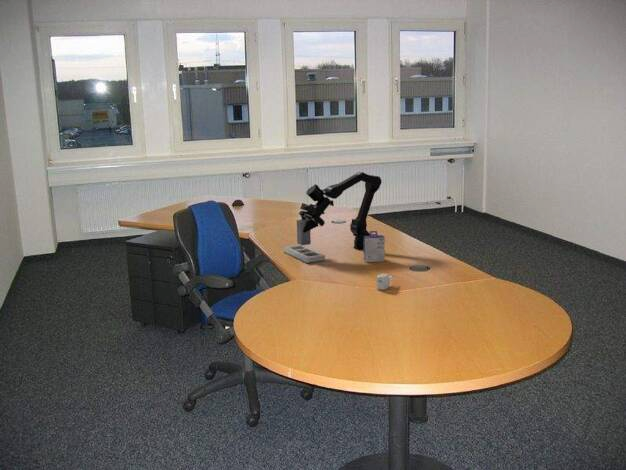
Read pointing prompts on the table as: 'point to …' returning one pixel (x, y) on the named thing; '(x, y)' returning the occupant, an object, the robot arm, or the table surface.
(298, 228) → the steel square peg
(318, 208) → the robot arm
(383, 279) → the power adapter
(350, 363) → the table surface
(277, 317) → the table surface
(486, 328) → the table surface
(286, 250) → the silver compartment tray
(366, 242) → the ink cartridge box
